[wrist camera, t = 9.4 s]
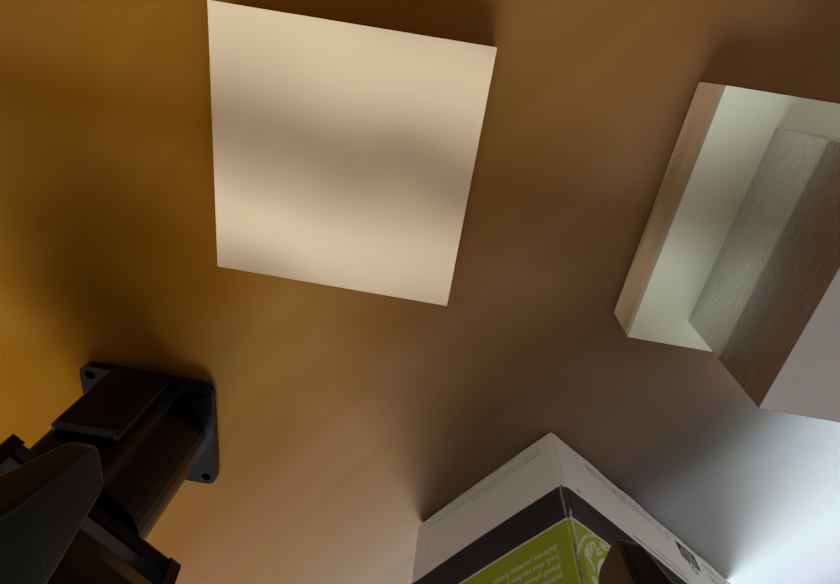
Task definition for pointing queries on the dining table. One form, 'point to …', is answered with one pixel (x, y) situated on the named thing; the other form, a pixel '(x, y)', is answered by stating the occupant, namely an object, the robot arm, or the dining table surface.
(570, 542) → the tea box
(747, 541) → the dining table surface
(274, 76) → the stand
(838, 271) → the block
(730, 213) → the stand
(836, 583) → the dining table surface
